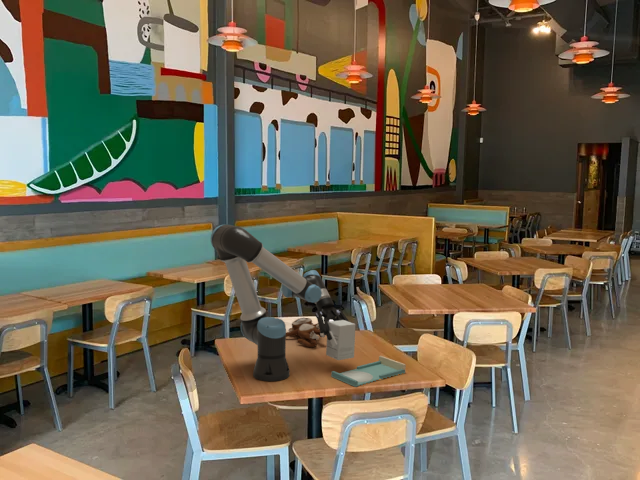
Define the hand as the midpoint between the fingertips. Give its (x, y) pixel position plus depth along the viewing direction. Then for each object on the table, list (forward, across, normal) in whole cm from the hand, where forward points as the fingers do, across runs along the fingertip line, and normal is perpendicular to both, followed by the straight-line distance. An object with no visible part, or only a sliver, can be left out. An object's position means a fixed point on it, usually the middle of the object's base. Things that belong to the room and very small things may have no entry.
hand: (344, 344), depth 244 cm
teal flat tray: (+15, -6, -1) cm, 16 cm away
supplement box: (+3, 0, -6) cm, 7 cm away
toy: (-25, -15, -41) cm, 50 cm away
